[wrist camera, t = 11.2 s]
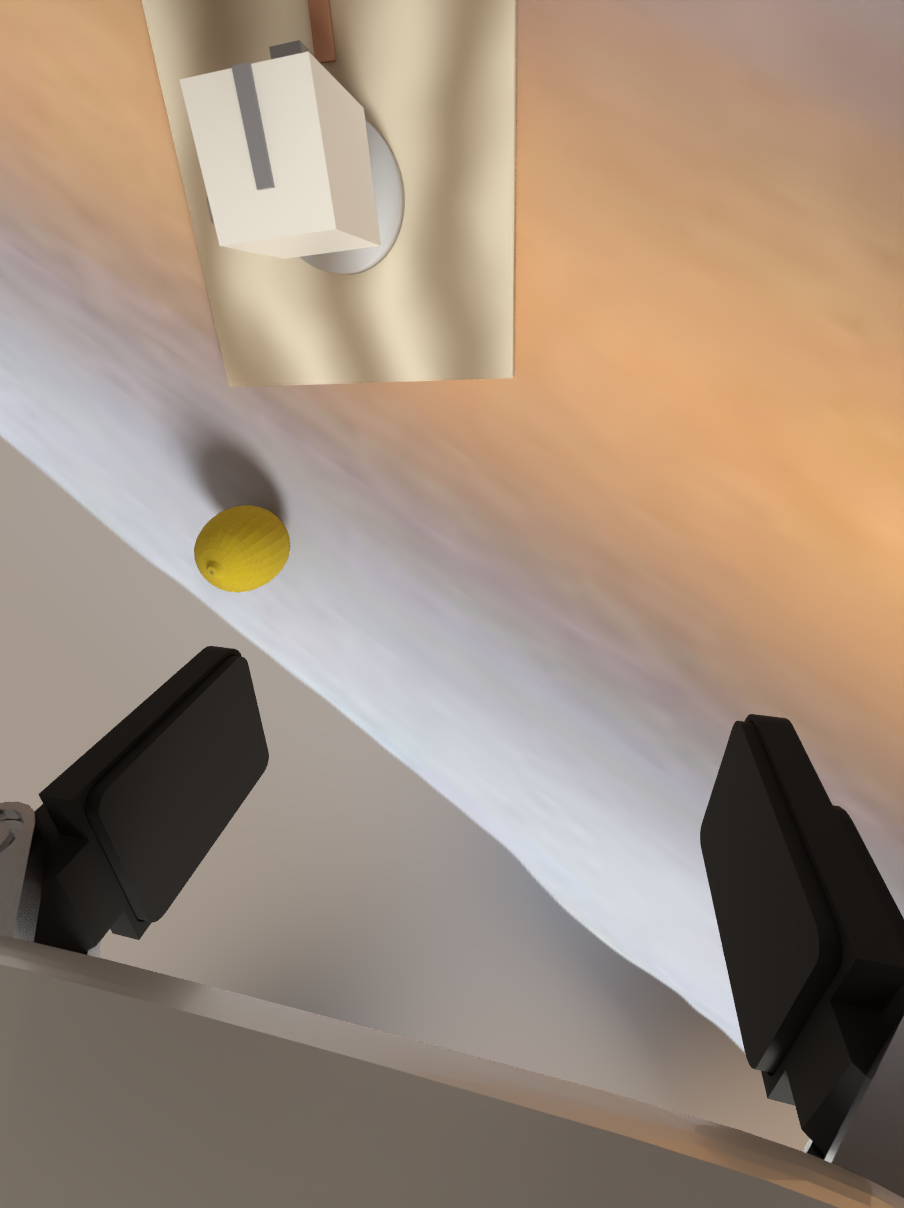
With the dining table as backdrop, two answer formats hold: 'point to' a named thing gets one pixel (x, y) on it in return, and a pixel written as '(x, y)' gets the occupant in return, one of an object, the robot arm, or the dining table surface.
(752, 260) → the dining table surface
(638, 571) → the dining table surface
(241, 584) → the lemon
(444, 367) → the base
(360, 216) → the white box
